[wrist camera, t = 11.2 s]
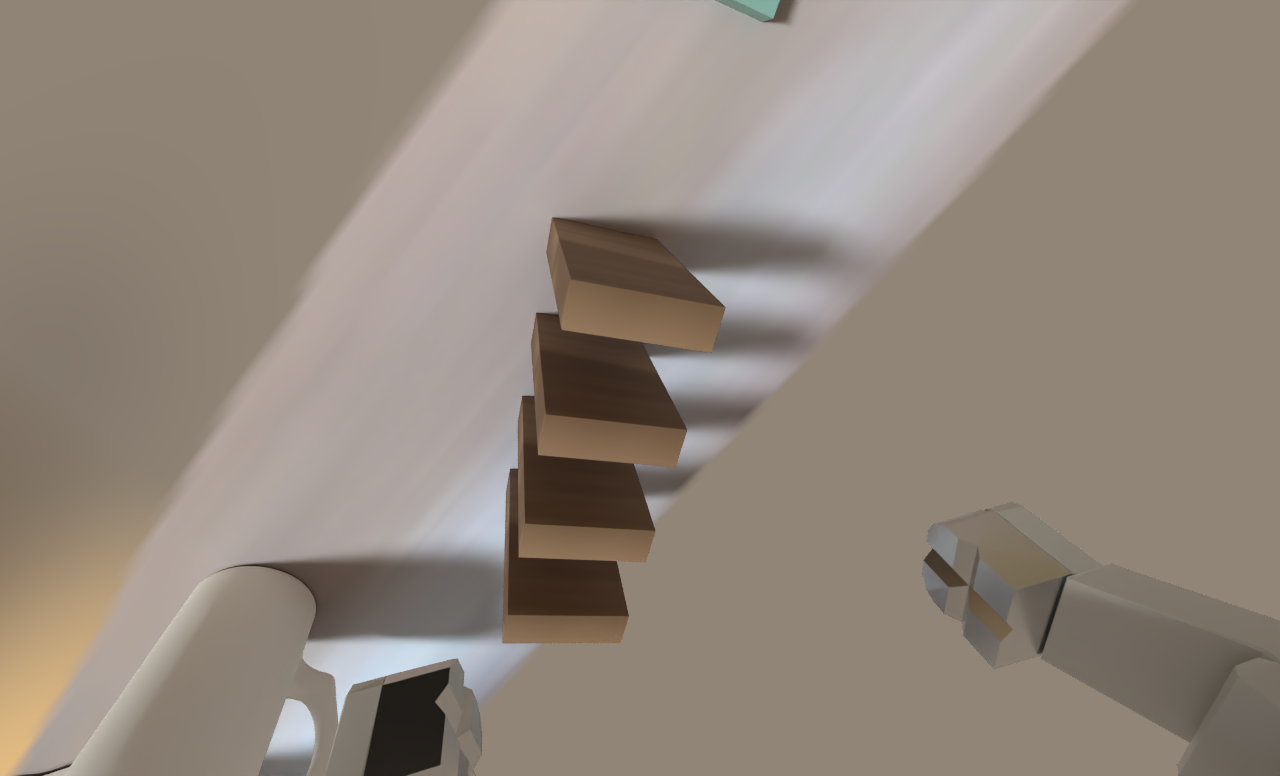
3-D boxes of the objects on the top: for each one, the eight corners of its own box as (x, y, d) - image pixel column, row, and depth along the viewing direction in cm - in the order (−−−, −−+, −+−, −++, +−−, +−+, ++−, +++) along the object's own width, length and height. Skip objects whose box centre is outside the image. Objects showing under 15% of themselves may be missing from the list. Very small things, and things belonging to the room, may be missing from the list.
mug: (161, 620, 31) (-23, 888, 20) (224, 541, 29) (61, 787, 19) (334, 677, 35) (257, 922, 25) (396, 612, 34) (342, 842, 23)
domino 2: (627, 357, 29) (675, 467, 20) (531, 343, 28) (538, 454, 19) (634, 328, 28) (687, 430, 20) (536, 313, 27) (545, 414, 18)
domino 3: (608, 432, 31) (645, 562, 22) (517, 422, 29) (518, 557, 21) (615, 407, 30) (655, 530, 21) (522, 396, 29) (525, 523, 20)
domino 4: (592, 498, 33) (620, 642, 24) (506, 492, 31) (502, 643, 23) (598, 476, 32) (628, 616, 23) (510, 469, 31) (507, 615, 22)
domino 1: (648, 271, 27) (711, 353, 18) (546, 252, 26) (561, 329, 17) (656, 239, 26) (725, 307, 18) (552, 217, 25) (571, 279, 16)
